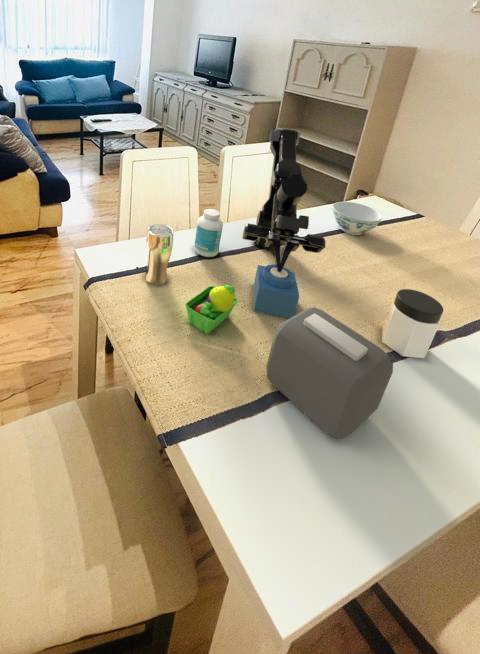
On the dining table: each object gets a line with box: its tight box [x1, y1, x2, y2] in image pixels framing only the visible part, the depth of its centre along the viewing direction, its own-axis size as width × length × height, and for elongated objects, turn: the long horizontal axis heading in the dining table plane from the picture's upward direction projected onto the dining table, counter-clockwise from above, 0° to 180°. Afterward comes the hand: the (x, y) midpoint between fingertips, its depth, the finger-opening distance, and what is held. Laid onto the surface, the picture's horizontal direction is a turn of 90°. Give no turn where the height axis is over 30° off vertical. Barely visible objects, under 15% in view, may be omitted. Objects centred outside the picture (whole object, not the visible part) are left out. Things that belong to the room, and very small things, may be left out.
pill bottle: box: [193, 208, 224, 258], centre depth 116 cm, size 8×7×14 cm
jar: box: [381, 288, 444, 359], centre depth 84 cm, size 9×8×12 cm
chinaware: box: [332, 201, 383, 236], centre depth 135 cm, size 15×15×8 cm
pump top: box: [270, 267, 288, 279], centre depth 95 cm, size 4×4×2 cm
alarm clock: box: [265, 306, 394, 439], centre depth 69 cm, size 16×11×16 cm
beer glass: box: [144, 223, 174, 286], centre depth 102 cm, size 7×7×15 cm
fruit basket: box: [185, 284, 238, 335], centre depth 88 cm, size 11×9×11 cm
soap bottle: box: [252, 263, 300, 320], centre depth 96 cm, size 10×9×9 cm
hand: (279, 271), depth 94 cm, fingers closed, pressing on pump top
